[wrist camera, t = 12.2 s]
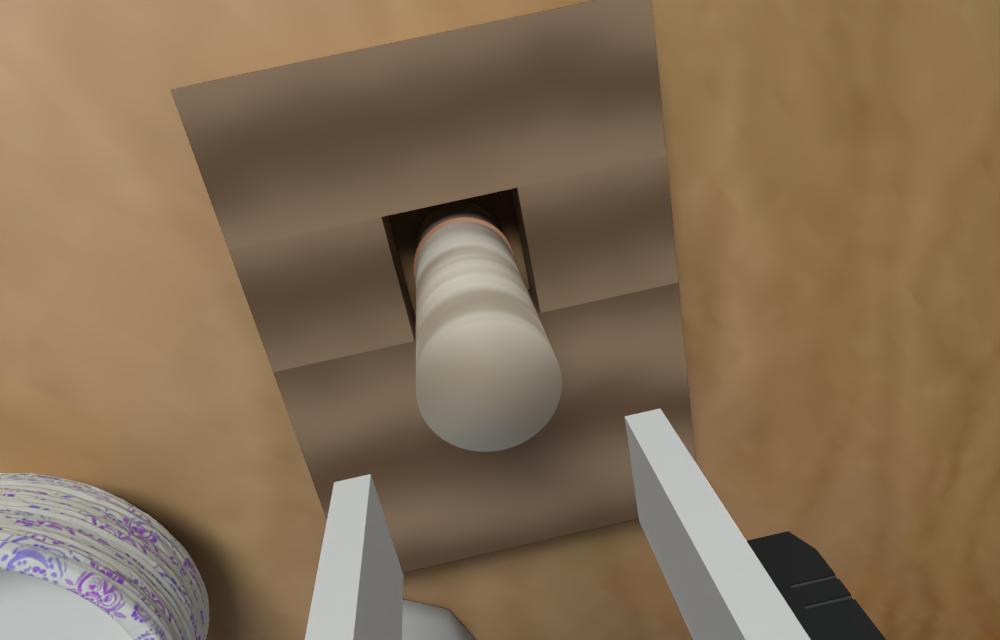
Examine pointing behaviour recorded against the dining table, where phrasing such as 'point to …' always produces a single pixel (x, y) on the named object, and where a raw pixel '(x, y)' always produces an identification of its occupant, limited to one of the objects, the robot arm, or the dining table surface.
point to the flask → (430, 623)
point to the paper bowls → (91, 567)
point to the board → (437, 180)
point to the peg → (478, 336)
